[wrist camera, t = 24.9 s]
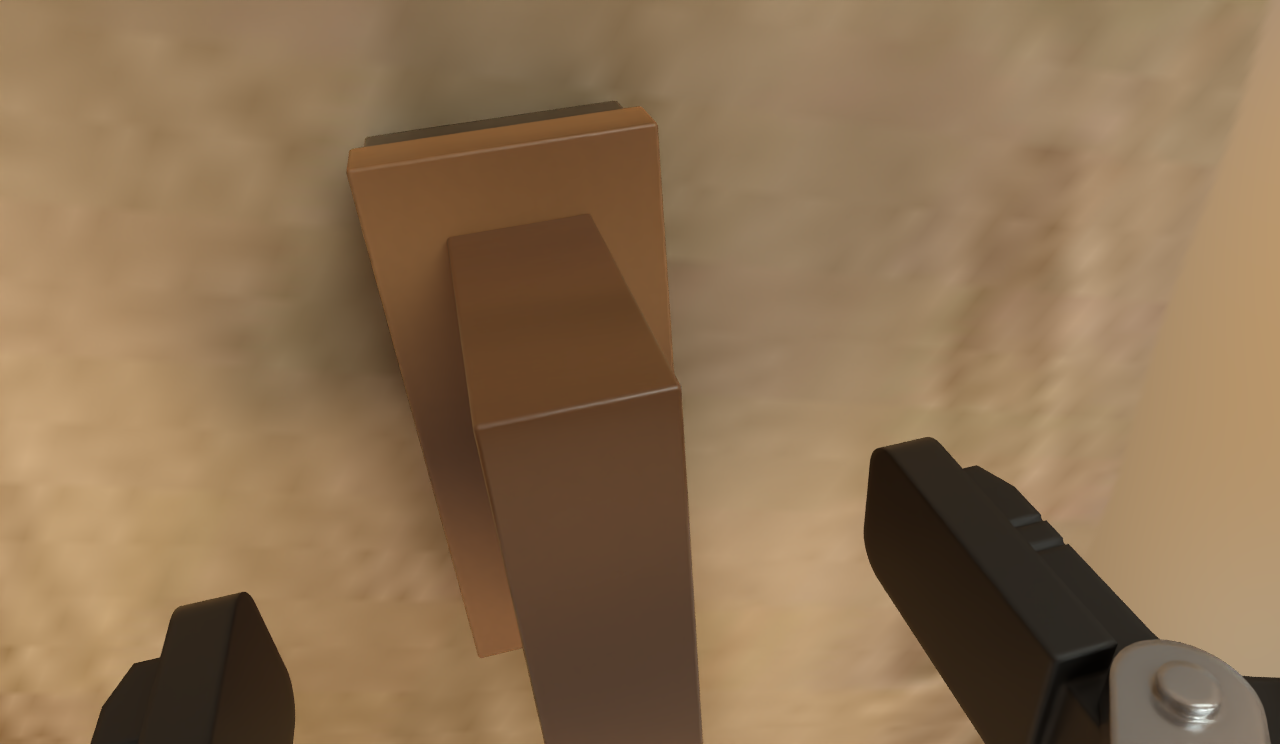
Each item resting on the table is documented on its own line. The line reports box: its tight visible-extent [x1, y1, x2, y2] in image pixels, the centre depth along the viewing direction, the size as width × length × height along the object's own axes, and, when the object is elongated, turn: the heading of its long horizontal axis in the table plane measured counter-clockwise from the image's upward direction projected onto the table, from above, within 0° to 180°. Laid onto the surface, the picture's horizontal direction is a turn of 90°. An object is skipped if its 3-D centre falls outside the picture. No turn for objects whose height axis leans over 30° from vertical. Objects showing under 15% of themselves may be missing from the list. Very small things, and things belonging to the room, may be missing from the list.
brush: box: [347, 101, 703, 744], centre depth 14 cm, size 10×4×7 cm, turn 4°
